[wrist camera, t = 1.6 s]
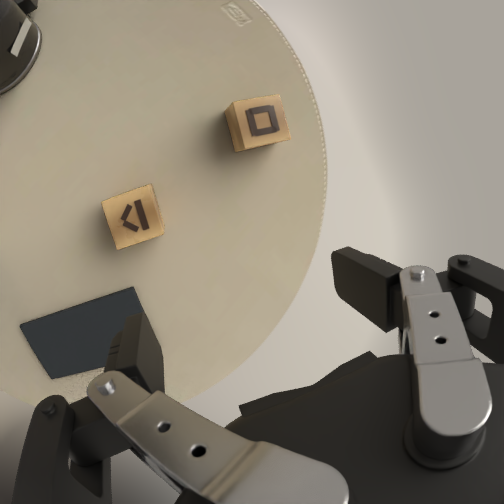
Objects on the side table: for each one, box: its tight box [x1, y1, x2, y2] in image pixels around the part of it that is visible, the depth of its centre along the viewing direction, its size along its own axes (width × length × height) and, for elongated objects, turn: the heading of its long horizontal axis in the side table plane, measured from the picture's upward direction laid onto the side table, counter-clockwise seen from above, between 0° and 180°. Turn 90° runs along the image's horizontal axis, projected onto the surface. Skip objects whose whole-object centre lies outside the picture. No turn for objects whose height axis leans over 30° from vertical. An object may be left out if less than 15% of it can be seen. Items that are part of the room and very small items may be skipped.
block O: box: [225, 94, 291, 152], centre depth 26 cm, size 4×4×4 cm
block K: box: [101, 184, 165, 250], centre depth 25 cm, size 4×4×4 cm
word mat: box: [20, 287, 161, 379], centre depth 28 cm, size 8×16×1 cm, turn 105°
